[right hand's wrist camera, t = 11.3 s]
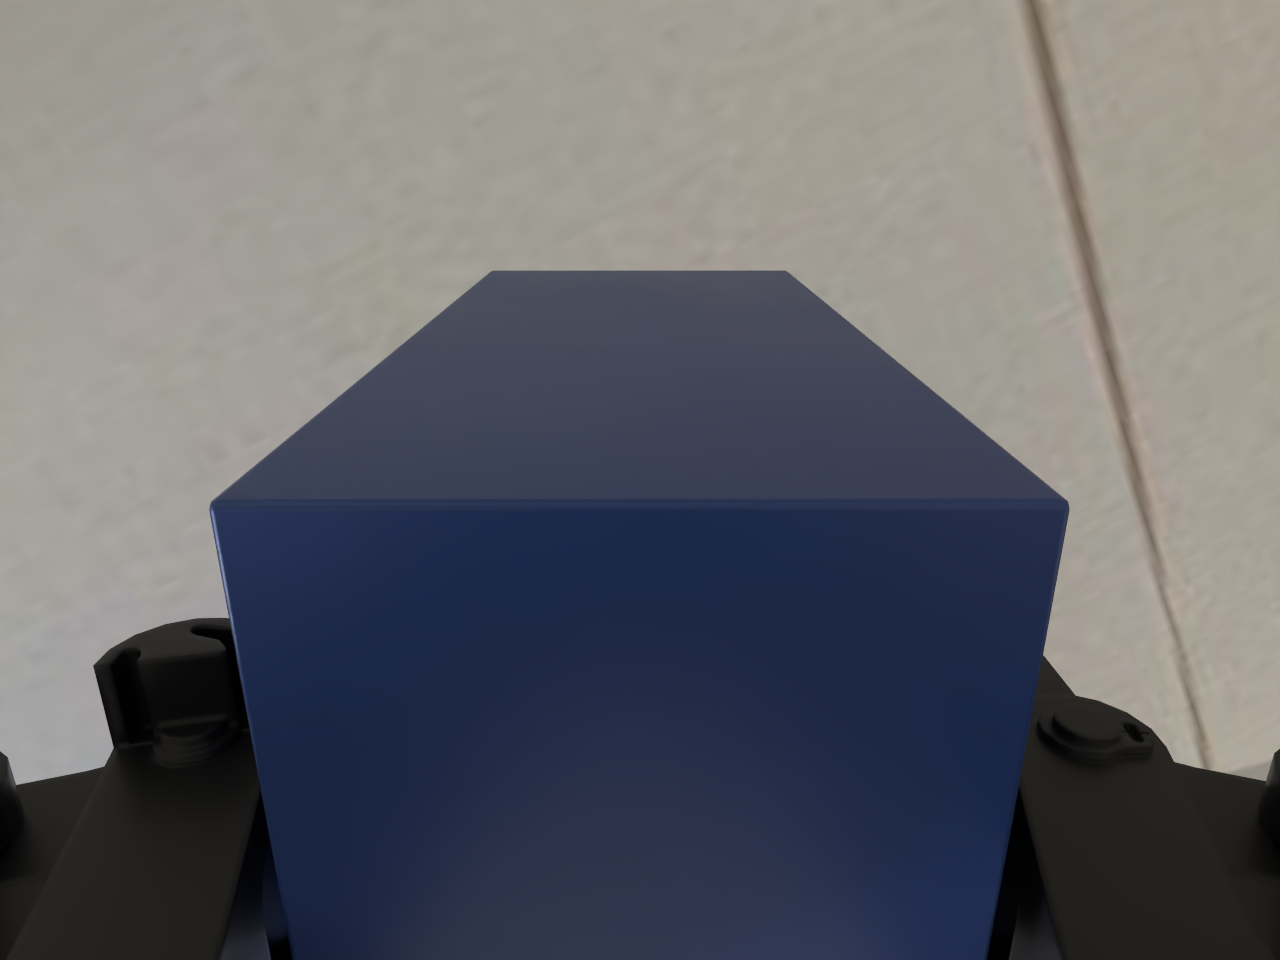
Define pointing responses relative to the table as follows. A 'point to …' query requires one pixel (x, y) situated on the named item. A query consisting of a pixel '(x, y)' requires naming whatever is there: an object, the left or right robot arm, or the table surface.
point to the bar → (639, 636)
